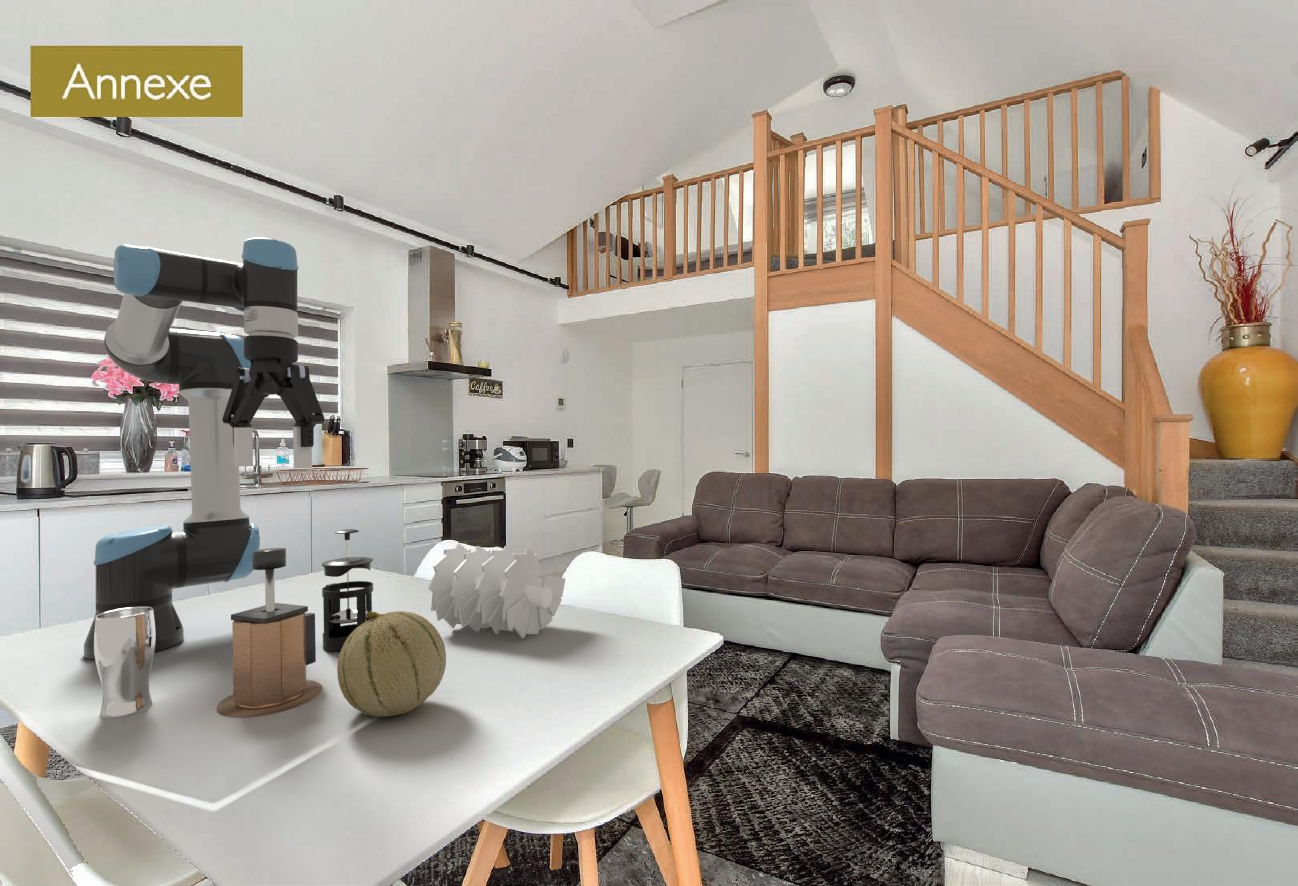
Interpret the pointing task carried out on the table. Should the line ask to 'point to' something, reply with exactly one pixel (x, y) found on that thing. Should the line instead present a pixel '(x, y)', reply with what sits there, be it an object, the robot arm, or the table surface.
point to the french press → (332, 595)
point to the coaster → (231, 710)
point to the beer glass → (125, 659)
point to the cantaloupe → (391, 663)
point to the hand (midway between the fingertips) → (272, 467)
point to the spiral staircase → (494, 590)
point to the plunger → (269, 570)
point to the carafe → (271, 655)
